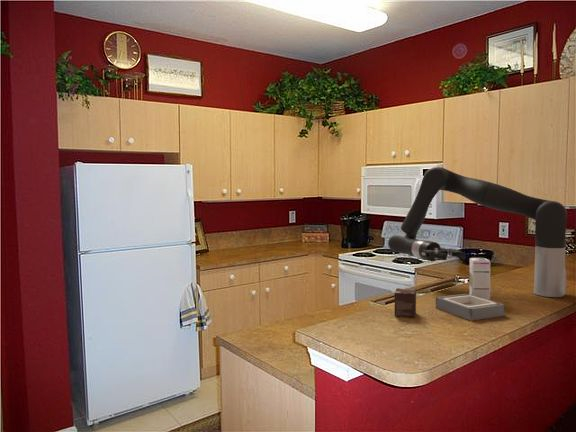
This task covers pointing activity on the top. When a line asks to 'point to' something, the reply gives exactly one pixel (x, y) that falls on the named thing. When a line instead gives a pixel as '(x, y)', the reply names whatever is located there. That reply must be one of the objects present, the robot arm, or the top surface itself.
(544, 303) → the top surface
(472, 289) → the syrup box
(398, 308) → the box
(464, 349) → the top surface
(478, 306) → the tray
